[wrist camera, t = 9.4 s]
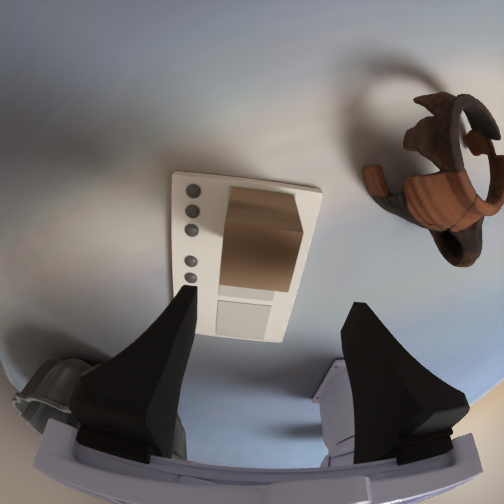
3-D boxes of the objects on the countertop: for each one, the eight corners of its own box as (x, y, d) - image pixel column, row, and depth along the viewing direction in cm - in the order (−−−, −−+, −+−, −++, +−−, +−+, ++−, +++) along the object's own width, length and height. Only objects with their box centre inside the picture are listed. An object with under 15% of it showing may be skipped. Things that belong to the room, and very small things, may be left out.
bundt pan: (46, 303, 27) (5, 370, 19) (233, 401, 36) (229, 469, 28) (33, 378, 39) (14, 422, 31) (156, 440, 48) (148, 483, 39)
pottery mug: (329, 136, 18) (414, 100, 10) (408, 98, 20) (482, 70, 12) (397, 283, 21) (481, 309, 13) (458, 222, 23) (531, 227, 15)
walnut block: (282, 246, 21) (288, 292, 17) (226, 239, 21) (218, 284, 17) (293, 194, 19) (303, 232, 15) (232, 186, 19) (224, 222, 15)
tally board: (281, 336, 28) (281, 343, 27) (177, 324, 28) (175, 331, 27) (321, 189, 20) (323, 194, 19) (175, 171, 19) (171, 175, 19)
